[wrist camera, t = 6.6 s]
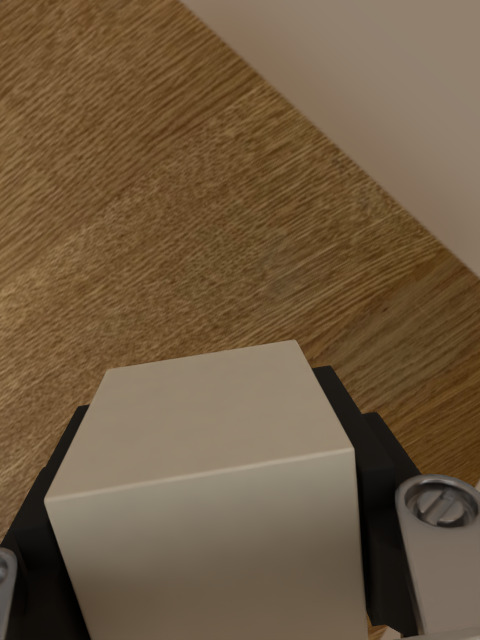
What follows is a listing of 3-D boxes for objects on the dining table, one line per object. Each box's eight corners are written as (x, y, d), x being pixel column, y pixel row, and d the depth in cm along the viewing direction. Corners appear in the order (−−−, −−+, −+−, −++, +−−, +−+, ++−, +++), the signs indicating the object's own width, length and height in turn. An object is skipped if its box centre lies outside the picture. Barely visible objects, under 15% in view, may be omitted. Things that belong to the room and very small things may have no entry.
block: (146, 522, 12) (114, 713, 8) (106, 368, 10) (41, 500, 6) (313, 493, 12) (370, 666, 8) (295, 338, 11) (355, 448, 6)
